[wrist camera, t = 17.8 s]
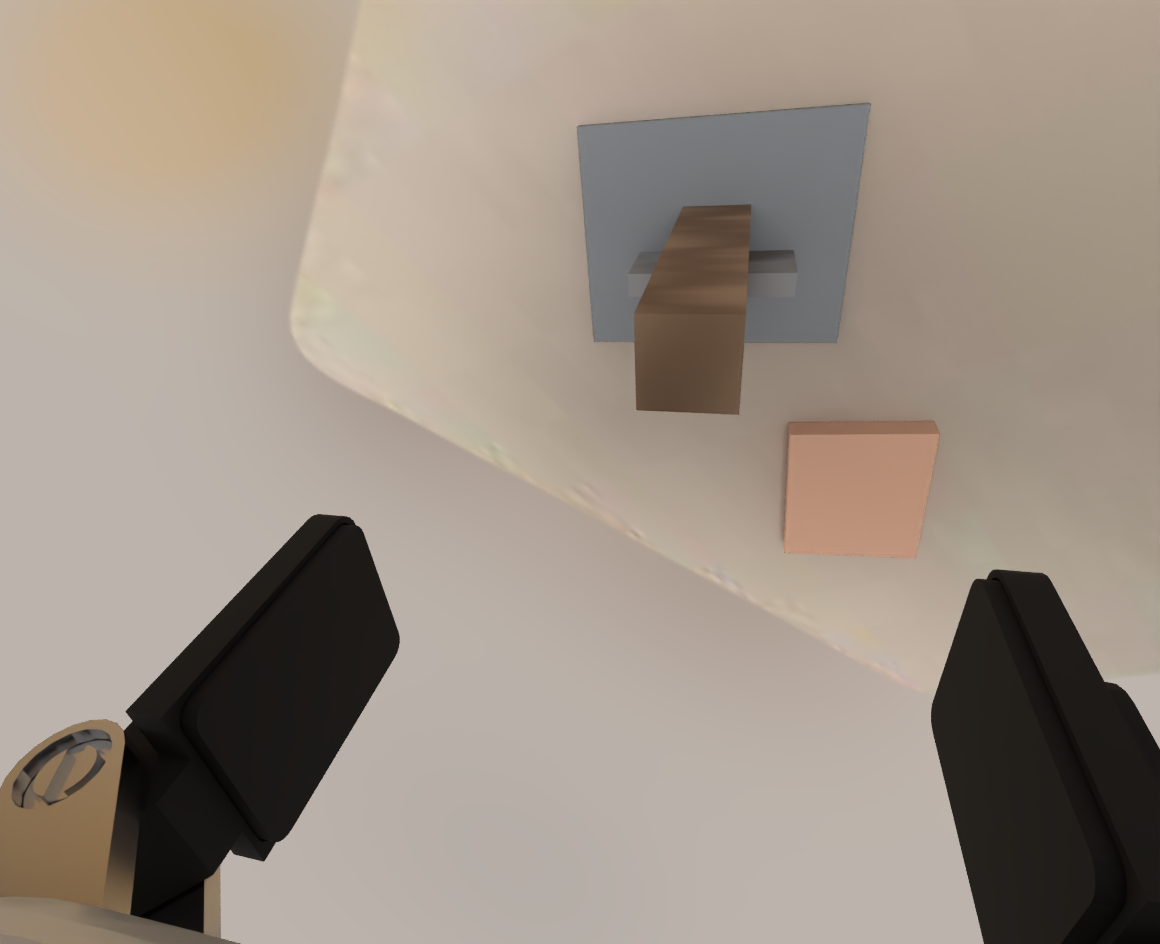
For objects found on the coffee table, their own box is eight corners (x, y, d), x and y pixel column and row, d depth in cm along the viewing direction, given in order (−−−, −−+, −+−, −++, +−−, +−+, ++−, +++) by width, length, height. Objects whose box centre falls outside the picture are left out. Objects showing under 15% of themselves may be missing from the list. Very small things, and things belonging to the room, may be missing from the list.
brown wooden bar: (798, 202, 28) (825, 314, 16) (791, 272, 29) (811, 417, 18) (639, 207, 29) (563, 313, 18) (640, 273, 31) (572, 407, 20)
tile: (939, 433, 31) (915, 558, 35) (931, 416, 33) (909, 538, 37) (790, 434, 33) (784, 552, 37) (788, 418, 34) (783, 533, 39)
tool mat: (868, 102, 26) (870, 104, 25) (835, 338, 31) (836, 342, 31) (580, 125, 28) (576, 126, 28) (596, 337, 34) (593, 341, 33)
